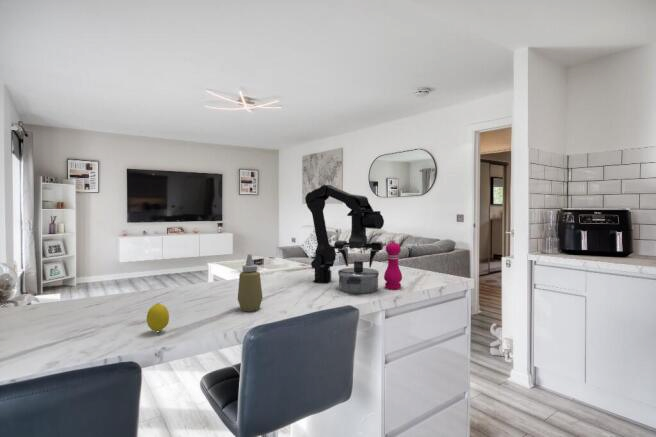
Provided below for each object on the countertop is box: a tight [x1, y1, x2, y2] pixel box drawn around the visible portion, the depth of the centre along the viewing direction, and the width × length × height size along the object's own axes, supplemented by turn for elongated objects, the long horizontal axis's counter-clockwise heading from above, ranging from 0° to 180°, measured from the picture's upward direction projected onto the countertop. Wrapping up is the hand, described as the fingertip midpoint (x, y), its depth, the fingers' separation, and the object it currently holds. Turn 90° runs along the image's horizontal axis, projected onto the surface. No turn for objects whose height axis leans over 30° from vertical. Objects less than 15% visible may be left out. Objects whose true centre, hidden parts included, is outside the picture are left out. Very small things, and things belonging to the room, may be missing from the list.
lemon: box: [146, 302, 170, 332], centre depth 101 cm, size 6×6×8 cm
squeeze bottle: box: [237, 254, 263, 312], centre depth 122 cm, size 8×8×18 cm
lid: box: [337, 260, 380, 279], centre depth 149 cm, size 16×16×6 cm
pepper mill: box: [383, 238, 403, 291], centre depth 151 cm, size 7×7×20 cm
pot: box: [338, 275, 379, 295], centre depth 149 cm, size 15×21×6 cm
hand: (358, 266), depth 149 cm, fingers open, 9 cm apart
